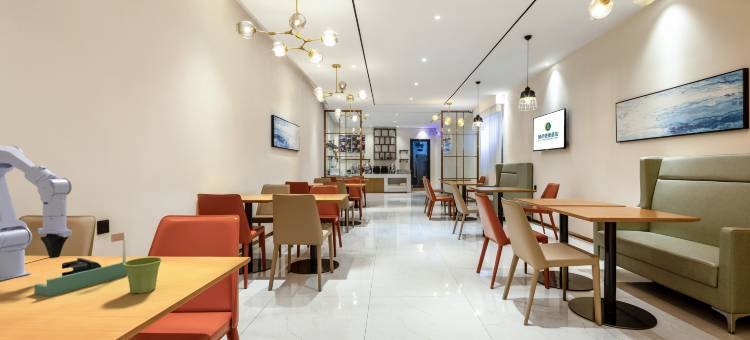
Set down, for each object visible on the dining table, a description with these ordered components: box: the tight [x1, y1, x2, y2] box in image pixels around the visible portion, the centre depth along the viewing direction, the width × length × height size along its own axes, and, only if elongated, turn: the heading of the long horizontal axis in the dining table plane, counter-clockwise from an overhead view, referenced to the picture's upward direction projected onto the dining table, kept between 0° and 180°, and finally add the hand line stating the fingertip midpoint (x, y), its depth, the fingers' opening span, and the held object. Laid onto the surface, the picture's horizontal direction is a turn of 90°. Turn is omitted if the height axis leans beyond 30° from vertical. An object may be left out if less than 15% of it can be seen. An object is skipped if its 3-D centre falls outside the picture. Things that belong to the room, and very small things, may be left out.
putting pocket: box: [33, 231, 128, 297], centre depth 110 cm, size 7×22×14 cm, turn 159°
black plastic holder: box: [61, 257, 102, 277], centre depth 111 cm, size 10×7×7 cm
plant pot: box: [123, 256, 163, 295], centre depth 103 cm, size 9×9×9 cm
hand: (54, 257), depth 114 cm, fingers closed
